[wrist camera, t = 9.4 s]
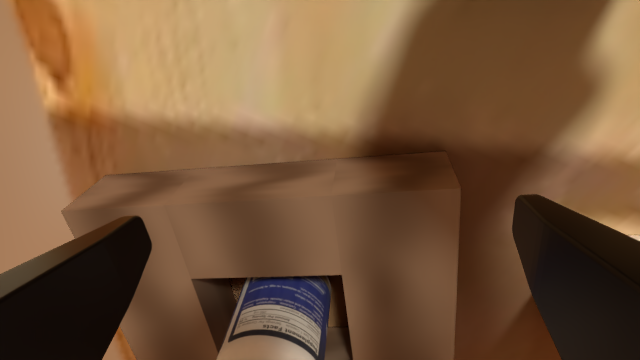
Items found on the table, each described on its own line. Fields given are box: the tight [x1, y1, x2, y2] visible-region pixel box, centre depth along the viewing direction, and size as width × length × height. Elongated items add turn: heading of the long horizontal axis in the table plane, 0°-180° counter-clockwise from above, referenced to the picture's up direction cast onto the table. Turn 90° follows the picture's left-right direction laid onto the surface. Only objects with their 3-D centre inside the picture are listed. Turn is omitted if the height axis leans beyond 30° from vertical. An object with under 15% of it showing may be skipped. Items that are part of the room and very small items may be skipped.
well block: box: [61, 151, 461, 360], centre depth 25 cm, size 20×18×4 cm
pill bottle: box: [216, 275, 331, 360], centre depth 22 cm, size 6×6×10 cm
